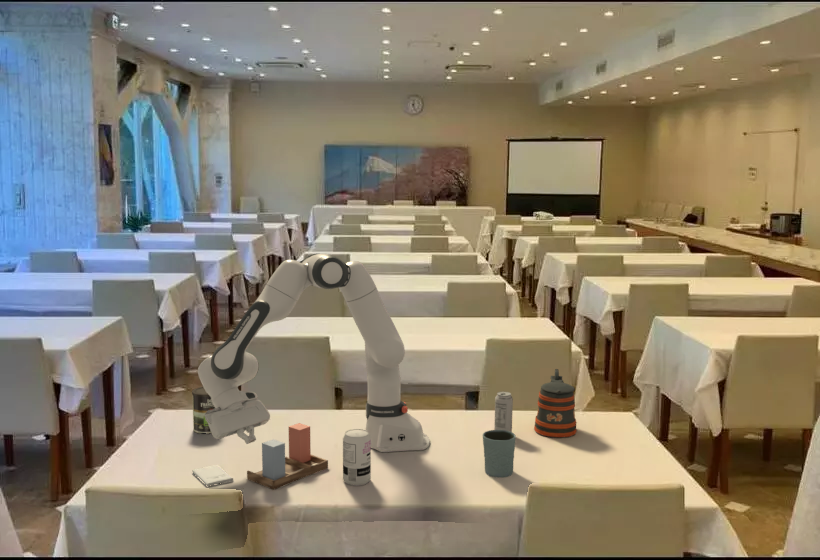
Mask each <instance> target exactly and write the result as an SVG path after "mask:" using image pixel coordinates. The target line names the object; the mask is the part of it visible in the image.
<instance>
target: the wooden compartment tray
mask: <svg viewBox="0 0 820 560" xmlns="http://www.w3.org/2000/svg"><path fill="white" fill-rule="evenodd" d="M326 469H329V460H328V459H324V458H322V457H321V456H316V455H313V454H311V460H310V461H307V462H304V463H302V462H299V461H296V460H294V459H291V458H289V456H285V476H284V477H282V478H279V479H277V480H271V479H269V478H266V477H264V476H263V471H262V470H260V471H259V470H258V471H257V472H253V471H252V470H247V471H246V480H249V481H251V482H254V483H255V484H259V485H261V486H263V487H266V488H269V489H271V490H277V489H280V488H283V487H284V486H286V485H289V484H291V483H294V482H297V481H299V480H302V479H304V478H307V477H310V476H313V475H315V474H317V473H319V472H322V471H324V470H326Z"/></svg>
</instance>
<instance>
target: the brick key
mask: <svg viewBox="0 0 820 560" xmlns="http://www.w3.org/2000/svg"><path fill="white" fill-rule="evenodd" d="M311 455H312V454H311V426H310V425H308V424H303V423H300V422H299V423H298V422H297V423H295V424H292V425H289V426H288V458H291V459H294V460H296V461H299V462H302V463H304V462H307V461H310V460H311Z"/></svg>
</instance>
